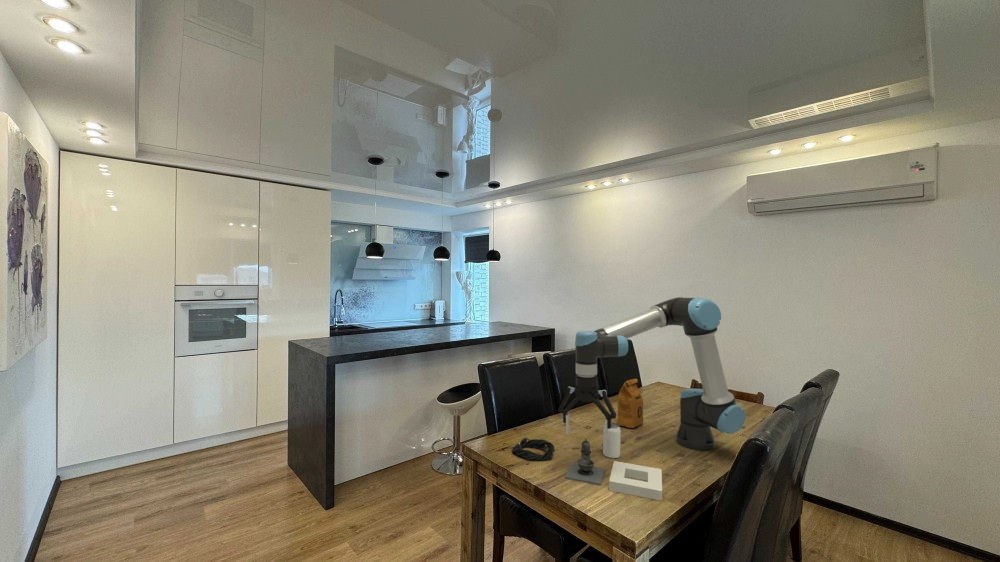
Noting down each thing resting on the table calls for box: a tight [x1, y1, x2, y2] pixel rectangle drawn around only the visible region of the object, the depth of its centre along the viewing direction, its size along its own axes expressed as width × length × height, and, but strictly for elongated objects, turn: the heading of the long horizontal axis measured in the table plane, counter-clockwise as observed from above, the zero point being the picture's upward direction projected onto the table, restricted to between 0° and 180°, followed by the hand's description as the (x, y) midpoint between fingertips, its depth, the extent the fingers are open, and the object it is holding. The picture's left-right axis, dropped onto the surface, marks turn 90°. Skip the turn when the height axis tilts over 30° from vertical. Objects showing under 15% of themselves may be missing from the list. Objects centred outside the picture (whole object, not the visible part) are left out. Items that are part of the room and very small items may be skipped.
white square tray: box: [608, 460, 663, 502], centre depth 131 cm, size 16×16×3 cm
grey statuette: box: [576, 438, 595, 476], centre depth 137 cm, size 6×6×12 cm
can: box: [602, 422, 621, 459], centre depth 153 cm, size 6×6×12 cm
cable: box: [511, 437, 555, 461], centre depth 154 cm, size 17×14×4 cm
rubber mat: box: [564, 462, 606, 486], centre depth 137 cm, size 12×12×1 cm
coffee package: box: [617, 378, 644, 429], centre depth 188 cm, size 10×12×22 cm
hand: (586, 434), depth 137 cm, fingers open, 13 cm apart
